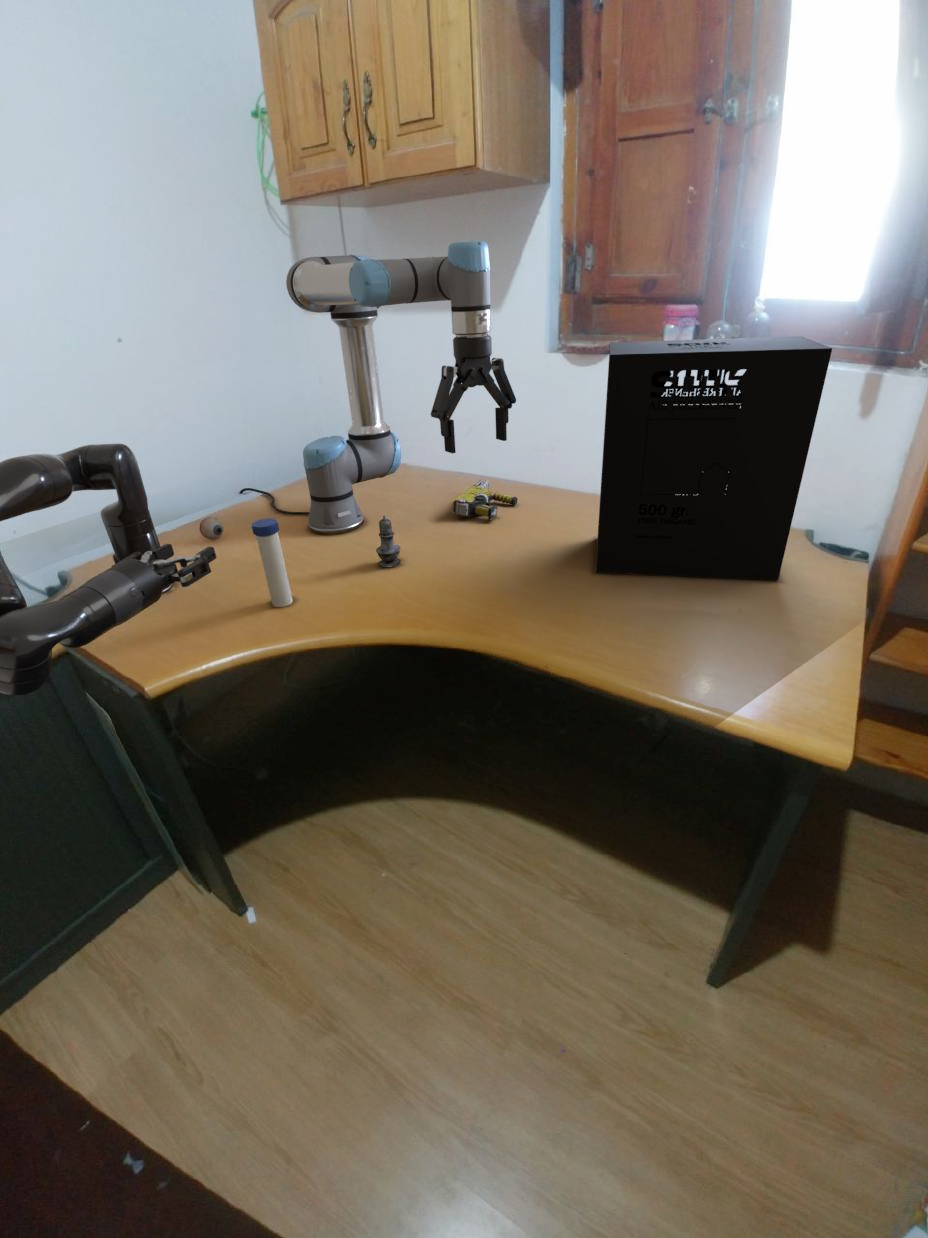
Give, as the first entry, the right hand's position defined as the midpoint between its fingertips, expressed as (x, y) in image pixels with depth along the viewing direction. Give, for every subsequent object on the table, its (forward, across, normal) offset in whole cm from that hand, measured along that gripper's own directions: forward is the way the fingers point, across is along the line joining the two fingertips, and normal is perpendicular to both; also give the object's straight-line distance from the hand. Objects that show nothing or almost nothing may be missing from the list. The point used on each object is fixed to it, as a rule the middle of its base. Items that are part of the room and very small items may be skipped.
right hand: (476, 445), depth 127 cm
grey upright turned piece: (+28, -15, +16) cm, 36 cm away
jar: (+28, -43, +15) cm, 53 cm away
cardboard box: (+28, +37, -28) cm, 54 cm away
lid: (+10, -43, +15) cm, 47 cm away
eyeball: (+28, -43, +63) cm, 82 cm away
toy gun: (+28, +27, +30) cm, 49 cm away
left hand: (+6, -60, +1) cm, 60 cm away
